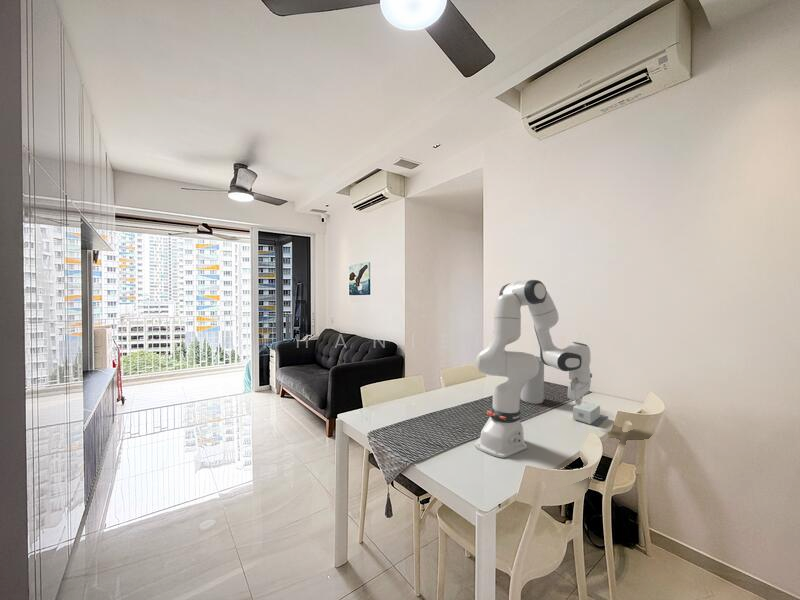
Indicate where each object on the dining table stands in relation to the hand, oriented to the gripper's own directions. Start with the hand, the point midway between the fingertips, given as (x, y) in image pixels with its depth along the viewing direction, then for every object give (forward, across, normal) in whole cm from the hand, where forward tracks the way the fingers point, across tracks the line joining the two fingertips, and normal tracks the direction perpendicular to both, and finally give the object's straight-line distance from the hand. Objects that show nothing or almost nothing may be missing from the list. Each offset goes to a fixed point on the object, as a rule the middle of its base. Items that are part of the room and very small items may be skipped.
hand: (578, 404), depth 151 cm
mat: (+10, +12, -3) cm, 16 cm away
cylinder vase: (+10, +15, +30) cm, 35 cm away
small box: (+6, +3, 0) cm, 7 cm away
